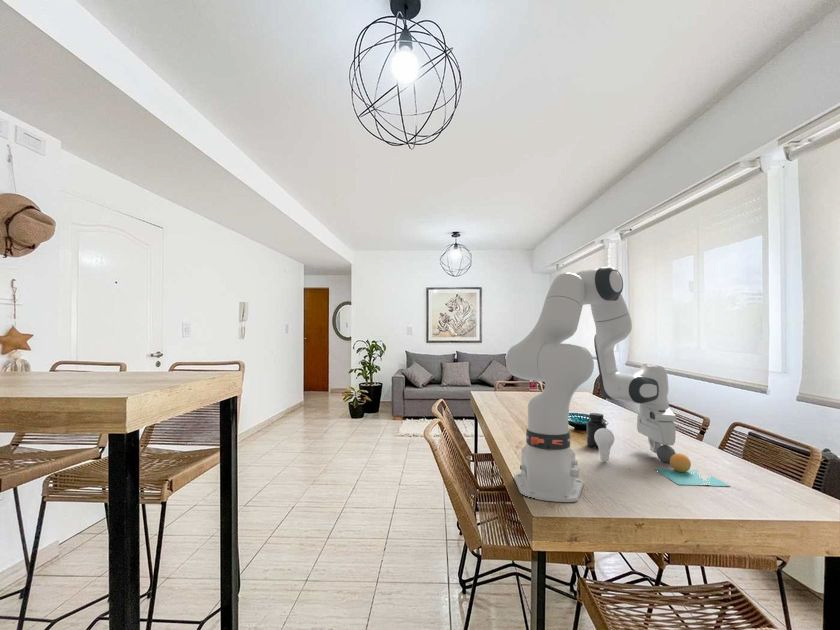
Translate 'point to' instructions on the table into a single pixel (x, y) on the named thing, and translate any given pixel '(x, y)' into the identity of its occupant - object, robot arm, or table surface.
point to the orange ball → (680, 462)
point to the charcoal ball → (665, 453)
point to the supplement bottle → (594, 428)
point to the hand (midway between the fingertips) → (654, 452)
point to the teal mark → (689, 478)
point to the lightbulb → (604, 442)
